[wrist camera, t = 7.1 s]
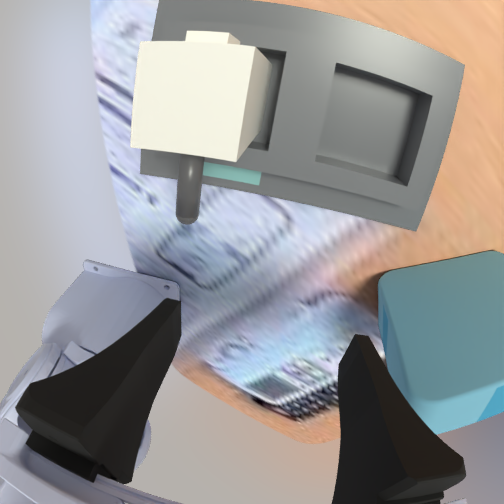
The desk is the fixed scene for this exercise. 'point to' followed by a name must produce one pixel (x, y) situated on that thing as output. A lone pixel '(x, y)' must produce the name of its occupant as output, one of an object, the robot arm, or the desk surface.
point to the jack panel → (329, 110)
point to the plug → (198, 104)
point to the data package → (446, 337)
